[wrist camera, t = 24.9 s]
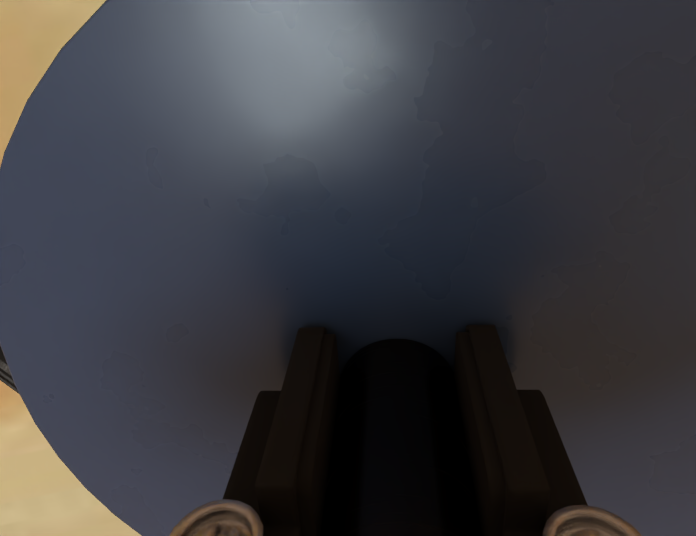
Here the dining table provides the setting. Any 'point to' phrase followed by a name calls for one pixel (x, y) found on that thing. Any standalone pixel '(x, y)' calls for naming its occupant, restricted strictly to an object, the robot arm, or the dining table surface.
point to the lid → (358, 244)
